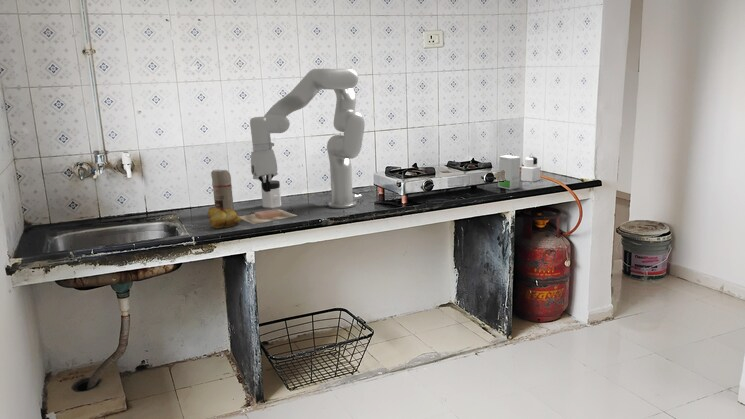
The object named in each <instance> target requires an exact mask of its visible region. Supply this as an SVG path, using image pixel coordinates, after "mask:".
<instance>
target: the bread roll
mask: <svg viewBox="0 0 745 419" xmlns="http://www.w3.org/2000/svg"><path fill="white" fill-rule="evenodd" d="M207 216H208V218H209V224H210V226H211V227H212V228H214V229H221V228H231V227H233V226H237V225H239V223H241V221H242V219H241V217H240V215H238V214H237V212H236V210H235V209H234V210H232V209H224V210H220V209H218V208H215V206H211V207H209V208H208V211H207Z"/></svg>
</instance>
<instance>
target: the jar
mask: <svg viewBox="0 0 745 419" xmlns="http://www.w3.org/2000/svg"><path fill="white" fill-rule="evenodd" d="M260 182H261V181H260ZM270 184H271V189H270V190H271V191H270V192H269V191H268V192H265V191H264V190H263V186H262V182H261V184H260V185H261V198H262V199H261V200H262V202H261V203H262V208H268V209H269V208H270V209H274V208H278V207H281V206H282V196H281V193H282V192H281V182H280V180H275V179H274V180H271V182H270Z"/></svg>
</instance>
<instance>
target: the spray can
mask: <svg viewBox="0 0 745 419" xmlns="http://www.w3.org/2000/svg"><path fill="white" fill-rule="evenodd" d="M210 176H211V185H212V191H213V201H214V207H215V208H218V209H220V210H224V209H232V210H234V211H235V206H234V197H233V186H232V177H231V176H232V175H231V173H230V172H229V170H228V169H219V168H217V169H212V171H211V172H210Z"/></svg>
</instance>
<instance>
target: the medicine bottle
mask: <svg viewBox="0 0 745 419" xmlns="http://www.w3.org/2000/svg"><path fill="white" fill-rule="evenodd" d="M524 158H525V159H524V166H520V171H521V172H520V180H521V181H522V182H523V181H524V182H529V183H530V182H531V183H534V182H538V181H540V180H541V166H538V158H537V157H535V156H526V157H524Z"/></svg>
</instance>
